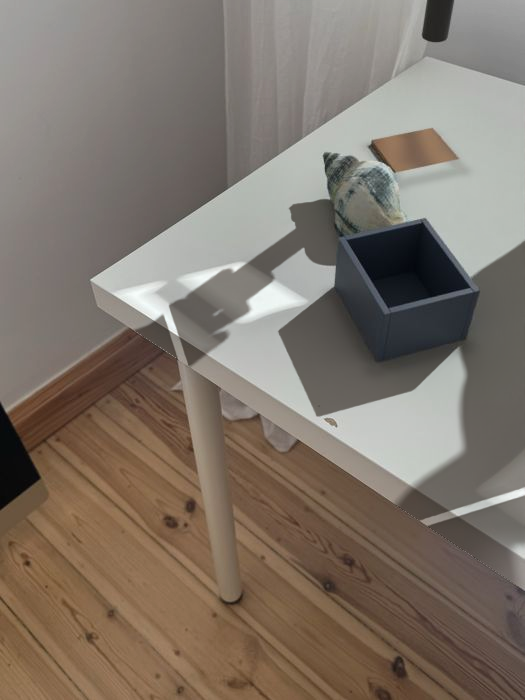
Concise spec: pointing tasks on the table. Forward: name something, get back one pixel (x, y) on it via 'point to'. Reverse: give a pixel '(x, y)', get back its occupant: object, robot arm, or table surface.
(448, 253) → the bin
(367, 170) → the seashell
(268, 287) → the table surface
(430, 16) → the marker
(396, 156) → the coaster
